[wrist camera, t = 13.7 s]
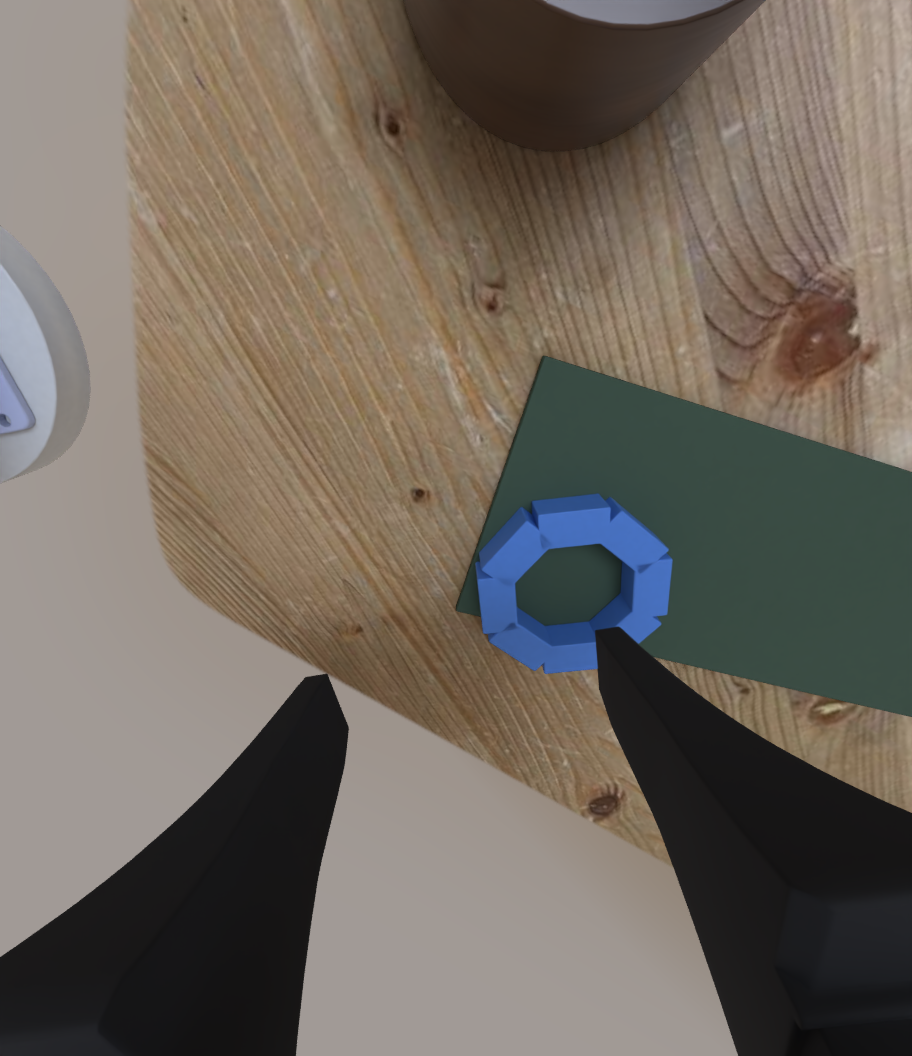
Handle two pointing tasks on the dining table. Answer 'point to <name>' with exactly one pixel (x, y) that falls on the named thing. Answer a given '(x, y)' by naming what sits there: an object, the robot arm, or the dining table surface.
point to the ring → (566, 528)
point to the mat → (721, 536)
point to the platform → (567, 60)
